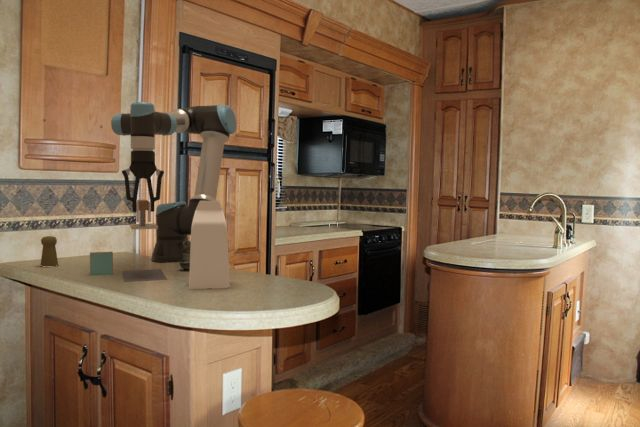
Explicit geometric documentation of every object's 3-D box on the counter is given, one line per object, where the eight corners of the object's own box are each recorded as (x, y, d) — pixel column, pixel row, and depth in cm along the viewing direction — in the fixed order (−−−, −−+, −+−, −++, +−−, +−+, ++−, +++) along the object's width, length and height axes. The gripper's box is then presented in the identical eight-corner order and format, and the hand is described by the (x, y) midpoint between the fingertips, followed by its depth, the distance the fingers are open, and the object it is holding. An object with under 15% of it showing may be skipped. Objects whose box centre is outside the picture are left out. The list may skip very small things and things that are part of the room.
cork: (53, 267, 199) (52, 237, 198) (36, 267, 199) (36, 237, 198) (61, 264, 205) (61, 235, 204) (45, 264, 205) (45, 235, 204)
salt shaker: (198, 270, 195) (197, 237, 195) (192, 273, 189) (192, 238, 189) (182, 270, 196) (181, 236, 195) (176, 272, 190) (175, 238, 189)
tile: (112, 275, 184) (112, 251, 184) (113, 275, 183) (112, 252, 182) (90, 276, 182) (90, 252, 181) (90, 277, 180) (89, 252, 180)
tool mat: (160, 270, 194) (160, 268, 194) (167, 281, 174) (167, 279, 174) (121, 272, 189) (121, 270, 189) (124, 283, 169) (124, 281, 169)
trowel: (129, 225, 187) (129, 199, 186) (154, 225, 190) (153, 199, 189) (131, 229, 173) (131, 201, 172) (158, 228, 176) (157, 201, 175)
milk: (188, 289, 162) (188, 201, 160) (190, 282, 173) (190, 200, 172) (229, 288, 164) (229, 201, 163) (228, 281, 175) (228, 200, 174)
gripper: (167, 151, 185) (167, 220, 187) (116, 150, 179) (117, 221, 181) (169, 150, 178) (170, 222, 180) (116, 149, 172) (117, 223, 174)
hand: (143, 221), depth 180 cm, fingers closed on trowel, 3 cm apart
